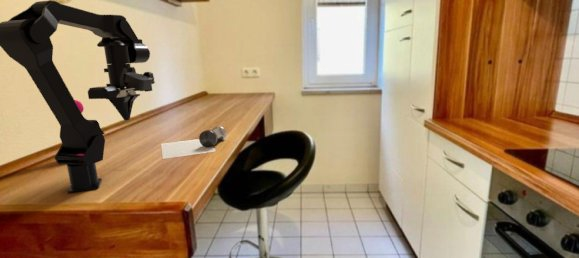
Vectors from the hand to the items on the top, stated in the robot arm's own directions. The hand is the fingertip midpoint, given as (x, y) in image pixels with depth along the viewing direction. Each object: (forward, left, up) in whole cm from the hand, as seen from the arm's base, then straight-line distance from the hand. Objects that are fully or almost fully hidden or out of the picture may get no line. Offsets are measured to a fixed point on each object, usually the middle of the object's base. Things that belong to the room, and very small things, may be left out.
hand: (127, 120), depth 94 cm
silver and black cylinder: (+6, -22, -10) cm, 25 cm away
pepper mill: (+16, +16, -13) cm, 26 cm away
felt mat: (+10, -16, -13) cm, 23 cm away
